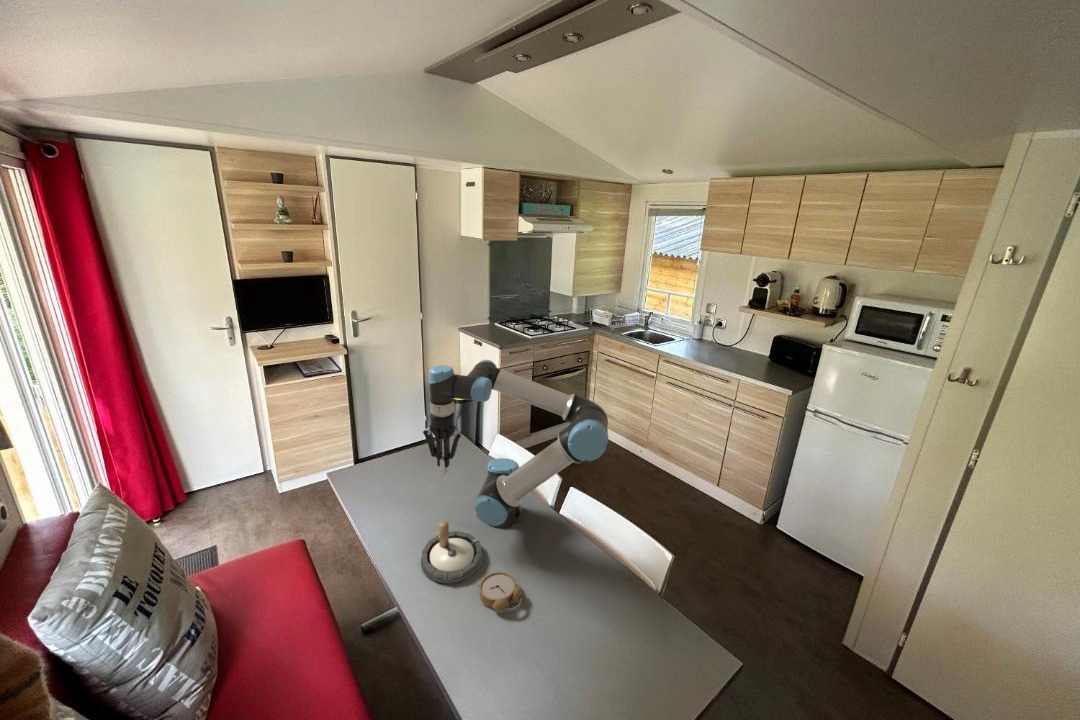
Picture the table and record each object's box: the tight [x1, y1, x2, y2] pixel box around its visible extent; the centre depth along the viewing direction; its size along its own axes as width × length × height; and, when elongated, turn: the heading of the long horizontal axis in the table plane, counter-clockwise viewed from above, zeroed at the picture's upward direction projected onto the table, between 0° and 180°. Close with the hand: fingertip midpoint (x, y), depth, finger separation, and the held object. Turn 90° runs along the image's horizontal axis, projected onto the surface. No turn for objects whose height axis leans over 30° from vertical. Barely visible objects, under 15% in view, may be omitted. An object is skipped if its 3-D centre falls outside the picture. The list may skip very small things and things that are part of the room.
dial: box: [430, 520, 474, 572], centre depth 143 cm, size 14×14×10 cm
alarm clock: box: [476, 571, 524, 614], centre depth 132 cm, size 11×5×15 cm
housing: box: [420, 530, 483, 585], centre depth 145 cm, size 20×20×4 cm
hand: (443, 474), depth 149 cm, fingers closed
